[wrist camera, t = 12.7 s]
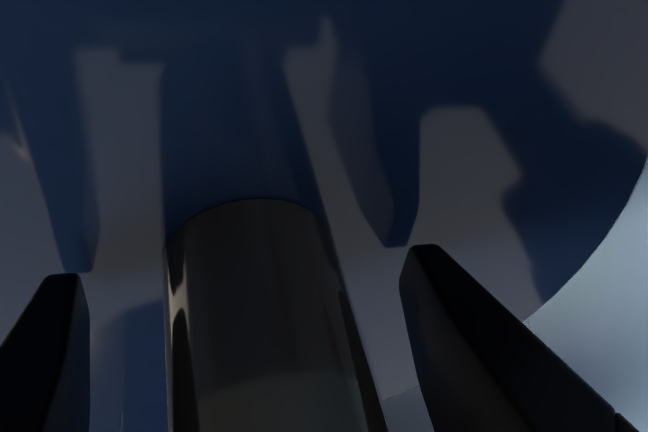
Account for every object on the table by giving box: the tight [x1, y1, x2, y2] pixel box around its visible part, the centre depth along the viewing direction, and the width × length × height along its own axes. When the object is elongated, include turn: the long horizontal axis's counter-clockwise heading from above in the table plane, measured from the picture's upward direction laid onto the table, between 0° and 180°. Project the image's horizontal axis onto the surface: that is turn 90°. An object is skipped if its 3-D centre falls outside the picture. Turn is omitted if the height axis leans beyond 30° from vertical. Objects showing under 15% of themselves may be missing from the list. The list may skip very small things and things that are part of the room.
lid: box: [0, 0, 648, 432], centre depth 8 cm, size 13×13×5 cm
